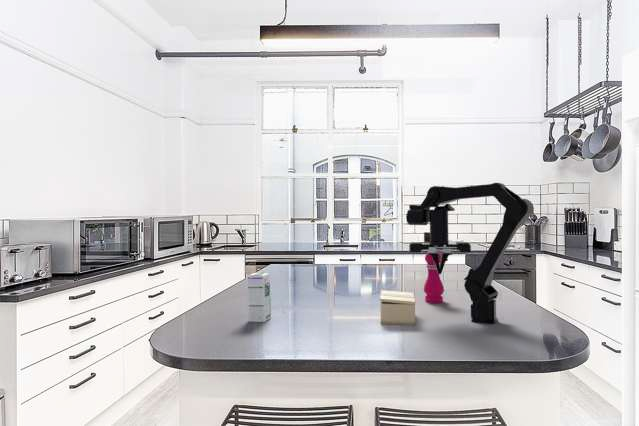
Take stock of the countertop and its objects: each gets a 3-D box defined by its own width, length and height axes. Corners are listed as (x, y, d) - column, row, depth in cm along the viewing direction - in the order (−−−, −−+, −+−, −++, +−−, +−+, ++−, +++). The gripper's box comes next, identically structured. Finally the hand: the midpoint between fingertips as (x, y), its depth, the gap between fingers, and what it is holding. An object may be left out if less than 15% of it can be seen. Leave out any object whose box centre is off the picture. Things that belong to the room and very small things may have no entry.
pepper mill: (442, 299, 173) (441, 246, 173) (445, 303, 166) (445, 247, 165) (422, 299, 173) (421, 246, 173) (425, 303, 166) (424, 247, 166)
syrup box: (265, 322, 142) (264, 275, 142) (247, 321, 143) (246, 274, 143) (271, 318, 147) (270, 272, 147) (253, 317, 148) (252, 272, 148)
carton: (413, 314, 150) (412, 295, 149) (415, 324, 136) (414, 304, 136) (381, 313, 151) (381, 295, 151) (380, 324, 137) (380, 303, 137)
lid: (412, 295, 150) (413, 292, 150) (415, 304, 135) (415, 301, 135) (381, 292, 151) (381, 289, 151) (379, 301, 137) (380, 298, 137)
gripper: (465, 224, 155) (465, 271, 155) (408, 224, 157) (409, 270, 158) (470, 225, 144) (471, 275, 144) (409, 226, 146) (410, 275, 147)
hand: (439, 274), depth 148 cm, fingers closed
